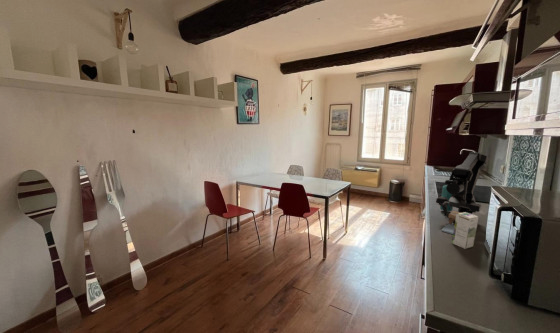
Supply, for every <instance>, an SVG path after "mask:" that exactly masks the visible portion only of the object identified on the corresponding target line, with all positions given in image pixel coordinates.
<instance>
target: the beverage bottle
mask: <svg viewBox="0 0 560 333" xmlns="http://www.w3.org/2000/svg"><path fill="white" fill-rule="evenodd" d="M452 181H453V180H449V179H445V182H444V185H443V186H442V189H441V197H446V198H447V199H448V200H449V199H450V198H451V196H452V194H450V193H449V192H448V191H447V189H446V187H447V185H448V184H450V183H452ZM439 208H440V210H442V211H443V208H442V206H441V205H439ZM453 209H454V207H450V206H449V203H448V206H447V212H452V211H453Z"/></svg>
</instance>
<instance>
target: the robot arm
mask: <svg viewBox="0 0 560 333" xmlns="http://www.w3.org/2000/svg"><path fill="white" fill-rule="evenodd" d="M489 160H490V158H489V156H487V155H485V154H482V153H481V152H469V153H468V155H467V157H466V158H465V159H464V161H463V162H462V163H461V164H459V165H456V166H455V167H454V168H452V171H451V173H450V177H449V179H448V180H452V183H450V184H446V185H447V187H446V189H447V191H448V192H449V193H450V194H452V196H451V198H450V199H449V200H448V199H447V198H446V197H441V196H442V195H441V196H439V197H437V198H436V200H435V202H436V204H438V205H439V206H440V205H441V206H442V208H443V210H442V211H443V214H444V217H447V216H448V211H447V206H448V203H449V206H450V207H453V208H456V209H458V210H457V212H462V213H463V212H466V213H470V214H473V213H479V212H480V211H481V210H482V207H483V206H482V205H481V203H476V198H475V196H474V191H475V188H476V184H477V182H478V178H479V175H480V172H481V171H483V169H485V168H486V166H487V165H488V164H489Z"/></svg>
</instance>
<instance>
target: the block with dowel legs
mask: <svg viewBox="0 0 560 333" xmlns="http://www.w3.org/2000/svg"><path fill="white" fill-rule="evenodd" d="M459 213H462V212H458V210H457V211H456V210H452V211H450V213H448V215H447V216H448V219H449V220H448V224H451V225H453V224H452V223H455V220H456V214H459Z"/></svg>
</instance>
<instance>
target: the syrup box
mask: <svg viewBox="0 0 560 333" xmlns="http://www.w3.org/2000/svg"><path fill="white" fill-rule="evenodd" d="M478 222H479V216H478V215H475V214H473V213H472V214H470V213H466V212H463V213H459V214H456V219H455V222H454V225H455V226H454V232H453V234H452V239H451V244H453V245H455V246H458V247H460V248H462V249H464V250H467V249H470V248H473V247H474V246H475V239H476V233H477V229H478Z"/></svg>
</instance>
